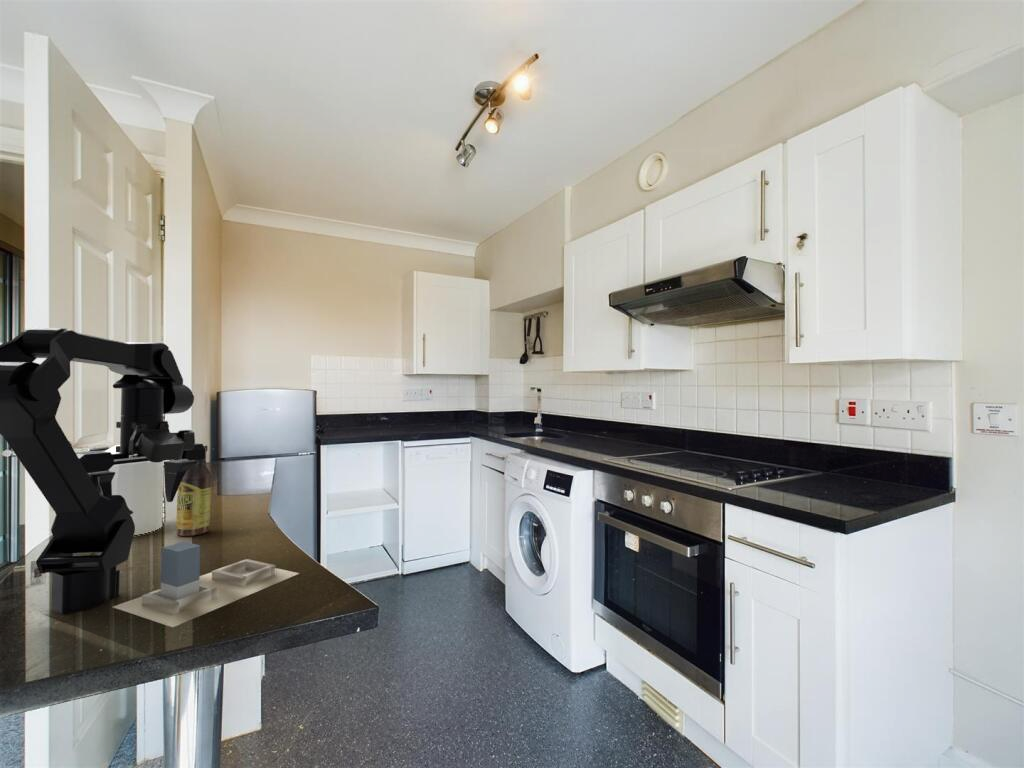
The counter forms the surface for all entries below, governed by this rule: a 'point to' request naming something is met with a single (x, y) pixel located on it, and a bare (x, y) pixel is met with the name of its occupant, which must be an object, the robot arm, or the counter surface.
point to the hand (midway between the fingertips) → (140, 507)
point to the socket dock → (208, 593)
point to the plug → (180, 570)
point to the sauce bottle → (194, 500)
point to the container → (140, 491)
